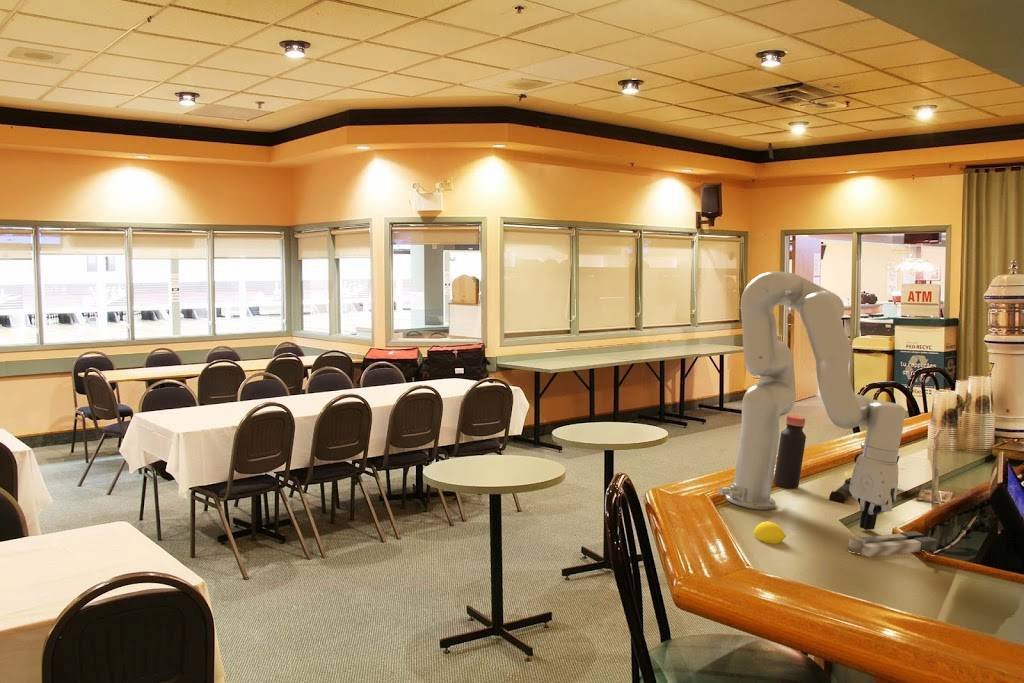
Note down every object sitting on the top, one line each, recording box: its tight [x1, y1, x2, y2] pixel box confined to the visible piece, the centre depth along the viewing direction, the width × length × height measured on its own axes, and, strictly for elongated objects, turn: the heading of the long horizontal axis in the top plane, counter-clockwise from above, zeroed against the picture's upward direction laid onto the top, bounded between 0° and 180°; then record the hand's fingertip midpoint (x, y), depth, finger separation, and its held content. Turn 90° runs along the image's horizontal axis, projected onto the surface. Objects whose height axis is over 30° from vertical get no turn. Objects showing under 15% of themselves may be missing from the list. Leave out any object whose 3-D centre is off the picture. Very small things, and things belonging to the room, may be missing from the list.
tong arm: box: [858, 530, 925, 544], centre depth 185 cm, size 18×2×3 cm, turn 115°
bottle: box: [773, 414, 807, 490], centre depth 231 cm, size 7×7×20 cm
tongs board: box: [847, 536, 938, 558], centre depth 187 cm, size 28×20×4 cm
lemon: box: [753, 520, 787, 545], centre depth 181 cm, size 7×5×5 cm
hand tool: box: [828, 477, 852, 505], centre depth 226 cm, size 19×4×5 cm, turn 143°
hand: (866, 528), depth 195 cm, fingers closed
